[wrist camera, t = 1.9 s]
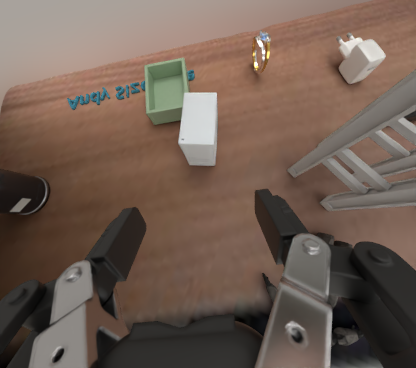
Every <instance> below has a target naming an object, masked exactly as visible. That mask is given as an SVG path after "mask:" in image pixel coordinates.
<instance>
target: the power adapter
mask: <svg viewBox="0 0 416 368" xmlns="http://www.w3.org/2000/svg"><path fill="white" fill-rule="evenodd" d="M347 37H348V38H349V39H350V41H347V42H345V43H344V42H343V40H342V39H341V37H340V36H338V37H337V38H336V40H337V41H338V43H339V44H340V45H341V46H340V47H339V52H340V53H341V54H342V56H343V57H344V60H343V62H342V63H341V64H340V66H339V71H340V73H341V74H342V76H343V77H344V79H345V80H346V81H347V83H349V84H353V83H356V82H359V81H361V80H363V79H365V78H366V77H367V76H368V75H369V74H370V73H371V72H372V71H373V70H374V69H375V68H376V67H377V66H378V65H379V64H380V63H381V62H382V61H383V60H384V59H385V53H384V52H383V51H382V49H381V48H380V47H379V46H378V44H377V43H376V42H375V41H374V40H372V39H369V40H366V41H363V40H362V39H361V38H356V39H355V38H354V37H353V35H352V34H351V33H348V34H347Z"/></svg>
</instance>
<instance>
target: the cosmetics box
mask: <svg viewBox="0 0 416 368" xmlns="http://www.w3.org/2000/svg"><path fill="white" fill-rule="evenodd" d="M217 131H218V111H217V93H211V92H210V93H184V98H183V108H182V117H181V125H180V133H179V142H178V144H179V146H180V148H181V149H182V151H183V153H184V155H185V157H186V159H187V161H188V163H189V165H200V166H215V162H216V150H217Z"/></svg>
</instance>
